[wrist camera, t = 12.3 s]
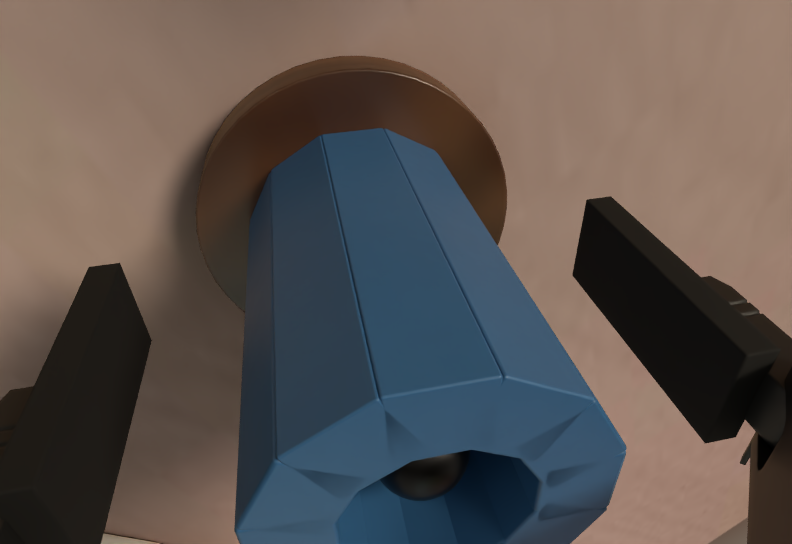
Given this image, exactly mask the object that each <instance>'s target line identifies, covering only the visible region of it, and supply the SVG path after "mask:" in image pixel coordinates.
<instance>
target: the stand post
mask: <svg viewBox="0 0 792 544" xmlns="http://www.w3.org/2000/svg"><path fill="white" fill-rule="evenodd" d="M469 457H470V450H467V451H462V452H457V453H452V454H447V455H442V456H437V457H431V458H426V459H421V460H416V461H411V462H410V463H408V464H406V465H404V466H403V467H401V468H399V469H397V470H395V471H394V472H392V473H390V474H388V475H386V476H385V477H383V478H381V479H379V480H380V481H381V483H382V484H383V485H384V486H385V487H386V488H387V489H389V490H390V491H391V492H392V493H394V494H396V495H398V496H400V497H402V498H405V499H408V500H413V501H427V500H432V499H436V498H438V497H441V496H443V495H444V494H446V493H447V492H449V491H450V490H452V489H453V488H454V487H455V486H456V485H457V483H458V482H459V481H460V480H461V478H462V476H463V475H464V473H465V471H466V468H467V465H468V463H469Z"/></svg>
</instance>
